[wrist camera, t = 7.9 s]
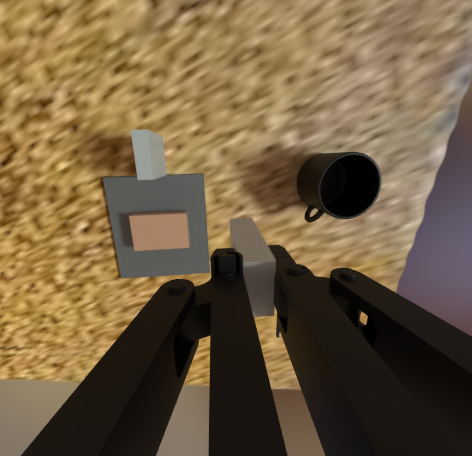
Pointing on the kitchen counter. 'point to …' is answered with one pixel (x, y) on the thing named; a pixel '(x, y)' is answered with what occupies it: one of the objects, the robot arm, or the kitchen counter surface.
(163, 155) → the grey tile
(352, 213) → the mug
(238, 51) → the kitchen counter surface
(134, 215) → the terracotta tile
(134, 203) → the mat
